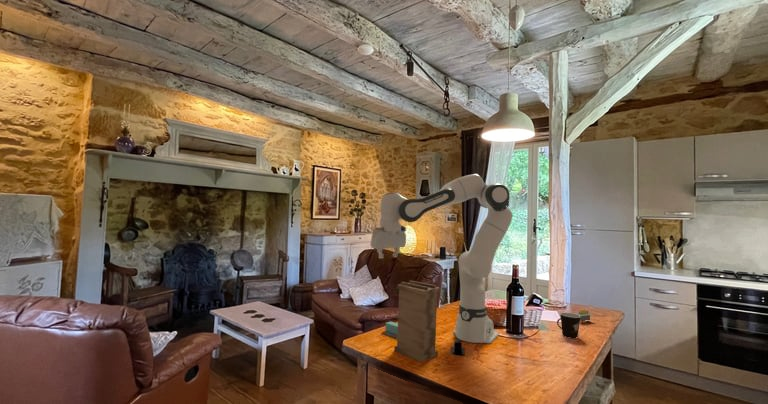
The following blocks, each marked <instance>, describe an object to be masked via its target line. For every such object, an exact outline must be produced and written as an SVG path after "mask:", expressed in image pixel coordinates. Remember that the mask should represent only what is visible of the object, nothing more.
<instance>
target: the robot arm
mask: <svg viewBox="0 0 768 404" xmlns="http://www.w3.org/2000/svg"><path fill="white" fill-rule="evenodd" d="M470 199H474V200H475V201H476V203H478V205H479V206H480V207H482V208H485V209H487V215H486V217H485V219H484V220H483V222H482V224H481V226H480V227H479V230H478V231H477V233H476V234H475V236H474V241H473V244H472V247H471V249H470V250H468V251H467V250H466V251H464V252H462V253H461V254H459V255H460V256H459V258H458V273H459V274H458V275H459V283H460V284H459V285H460V293H459V294H460V300H459V306H458V315H457V316H456V321H455V329H454V330H453V334H454V335H455V337H456V339H457V340H462V342H467V343H473V344H474V343H475V344H483V343H484V344H492V343H493V342H494V341H495V340H496V339H497V337H498V336H499V335H500V333H499V332H498V331H496V330H494V329H495V328H494V327H495V326H494V322H493V320H492V319H490V317H489V316H488V313H487V312H489V311H490V307H489V306H486V289H485V283H484V278H487V277H488V276H489V275H490V273H491V272H492V271H491V270H492V264H493V261H494V259H495V256H496V253H497V250H498V248H499V246H500V244H501V242H502V241H503V239H504V237H505V236H506V233H507V231H508V230H509V228H510V225H511V222H512V219H513V212H512V210H511V209H510V208H509V206H510V191H509V189H508V187H507V186H506V185H504V184H501V183H489V184H487V183H485V181H484V180H483V178H482V176H480V175H479V174H478V173H472V174H467V175H464V176H459V177H458V178H456V179H453V180H451V181H449V182H447V183H445V184H444V185H443V186H442V187H441V188H440V189H439V190H438V191H436V192H434V193H431V194H429V195H427V196H424V197H421V198H406V197H404V196H403V195H401V194H400V193H399V192H394V191H393V192H389V193H385V194H383V196H382V197H381V200H380V216H381V217H380V220H379V227H375V228H373V230H372V235H371V240H370V247H371V248H372V249H376V252H377V254H378V259H384V258H385V255H384V254H383V249H391V248H394V252H392V257H393V258H398V256H399V255H398V253H399V252H400V248H404V247H406V243H407V235H406V231H407V227H406V226H404V225H402V224H400V220H403V221H405V222H407V223H414V222H417V221H418V220H419V219H420V218H421V217H422V216H423V215H424V214H425V213H427V212H430V211H432V210H434V209H437V208H439V207H442V206H446V205H447V206H449V205H450V206H451V205H456V204H460V203H464V202H465V201H468V200H470Z"/></svg>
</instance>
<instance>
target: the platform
mask: <svg viewBox="0 0 768 404" xmlns="http://www.w3.org/2000/svg"><path fill="white" fill-rule="evenodd" d="M576 314H577V315H579V316H581V317H580V321H585V320H590V321H591V316H592V315H594V314H593V312H589V310H586V309H581V310H578V312H576Z"/></svg>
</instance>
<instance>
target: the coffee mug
mask: <svg viewBox="0 0 768 404" xmlns="http://www.w3.org/2000/svg"><path fill="white" fill-rule="evenodd" d="M580 317H581V316H579V315H577V313H571V312H561V313H560V318H558V319H557V322H556V324H557V326H558V328H560V329H561V331H562V332H561V333H562V334H563V335H564V336H563V335H562V334H561V335H562V336H563V337H565V336H566V337H565V338H568V337H571V338H570V339H577V338H578V337H579V336H578V335H579V329H580V324H581V323H580ZM560 322H561V323H560ZM559 323H560V324H561V326H560V324H559ZM576 337H577V338H576Z"/></svg>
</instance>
